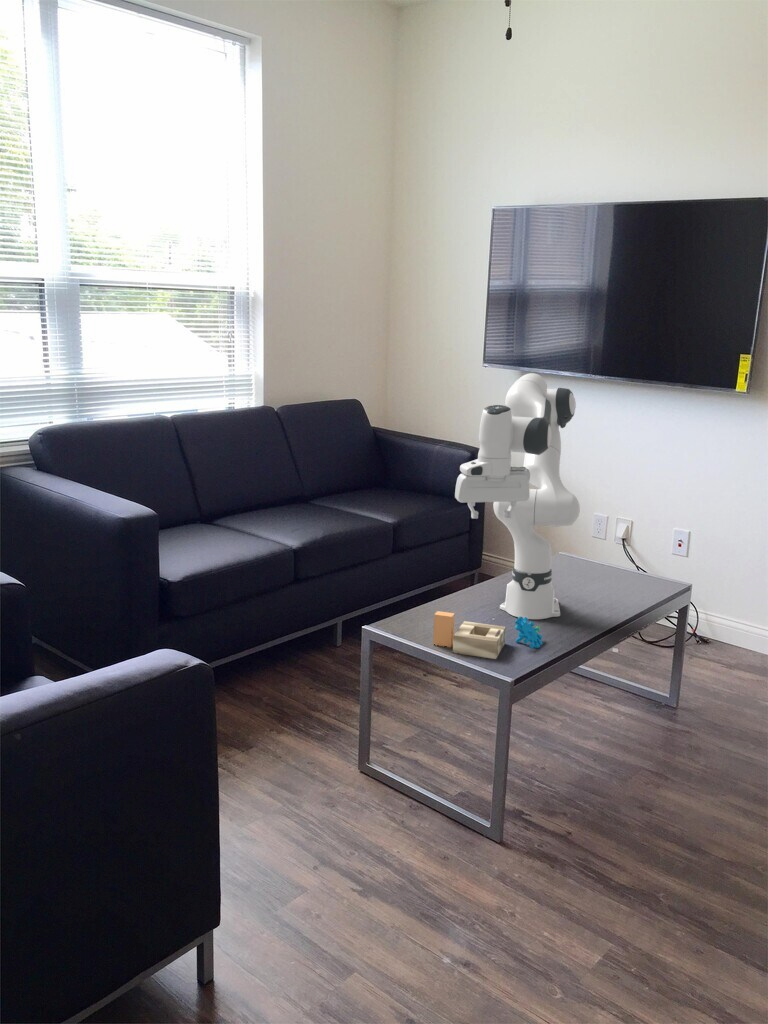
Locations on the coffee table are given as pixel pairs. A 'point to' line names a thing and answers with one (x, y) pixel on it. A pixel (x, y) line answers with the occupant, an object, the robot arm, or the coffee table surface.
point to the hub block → (479, 639)
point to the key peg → (443, 628)
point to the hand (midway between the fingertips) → (491, 517)
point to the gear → (528, 632)
